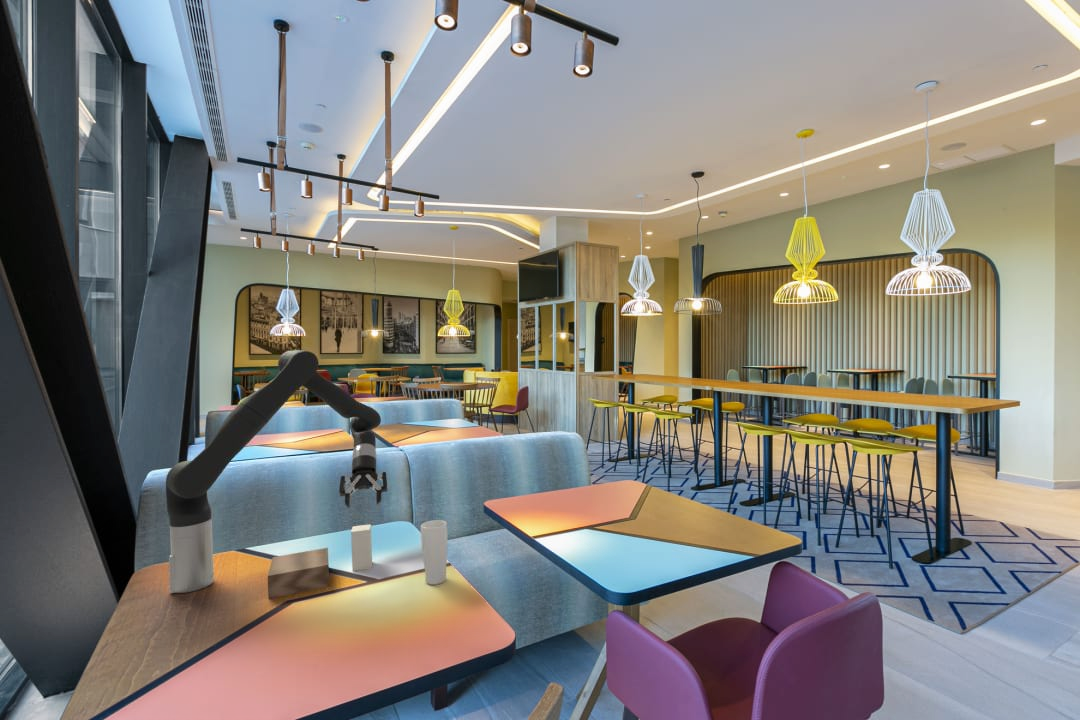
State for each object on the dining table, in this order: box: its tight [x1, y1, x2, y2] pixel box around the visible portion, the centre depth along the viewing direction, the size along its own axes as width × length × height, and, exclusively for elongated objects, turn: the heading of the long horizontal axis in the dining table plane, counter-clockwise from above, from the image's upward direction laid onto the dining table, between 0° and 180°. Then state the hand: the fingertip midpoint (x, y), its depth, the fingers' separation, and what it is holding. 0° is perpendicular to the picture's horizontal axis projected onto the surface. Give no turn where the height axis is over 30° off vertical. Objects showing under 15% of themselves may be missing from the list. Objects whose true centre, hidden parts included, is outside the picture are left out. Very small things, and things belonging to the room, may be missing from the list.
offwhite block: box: [350, 524, 373, 572], centre depth 142 cm, size 5×5×11 cm
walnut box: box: [267, 547, 330, 600], centre depth 134 cm, size 14×14×6 cm
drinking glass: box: [420, 519, 448, 586], centre depth 130 cm, size 7×7×15 cm
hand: (363, 504), depth 153 cm, fingers open, 8 cm apart
